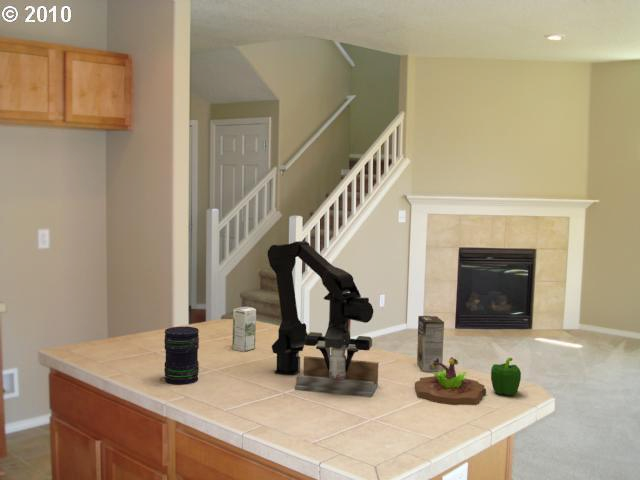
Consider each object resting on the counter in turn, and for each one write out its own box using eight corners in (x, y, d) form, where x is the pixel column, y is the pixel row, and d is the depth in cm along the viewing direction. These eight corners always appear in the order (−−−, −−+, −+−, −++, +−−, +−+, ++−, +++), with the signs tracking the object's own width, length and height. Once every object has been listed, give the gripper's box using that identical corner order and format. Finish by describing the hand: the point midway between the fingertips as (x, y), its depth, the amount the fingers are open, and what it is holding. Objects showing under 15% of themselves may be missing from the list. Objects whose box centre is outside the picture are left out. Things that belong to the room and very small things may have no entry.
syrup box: (243, 346, 242) (243, 306, 241) (255, 349, 239) (256, 308, 237) (232, 349, 237) (232, 308, 236) (244, 352, 234) (245, 310, 233)
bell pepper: (504, 399, 189) (506, 364, 188) (484, 391, 197) (486, 356, 196) (527, 395, 193) (529, 360, 192) (506, 387, 200) (508, 354, 200)
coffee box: (416, 364, 224) (417, 315, 222) (435, 364, 224) (437, 315, 223) (422, 372, 215) (424, 321, 213) (442, 372, 215) (444, 321, 214)
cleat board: (294, 389, 194) (295, 365, 193) (304, 379, 204) (305, 356, 204) (371, 397, 189) (372, 372, 188) (377, 385, 199) (378, 362, 199)
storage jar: (205, 378, 203) (205, 328, 201) (185, 387, 194) (185, 335, 193) (177, 373, 207) (178, 325, 206) (157, 382, 198) (157, 331, 197)
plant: (410, 402, 187) (411, 361, 186) (417, 381, 206) (418, 345, 205) (486, 409, 182) (487, 367, 181) (485, 387, 201) (487, 350, 200)
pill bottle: (347, 376, 199) (348, 347, 198) (342, 380, 194) (343, 351, 193) (332, 374, 200) (332, 345, 200) (326, 378, 196) (327, 349, 195)
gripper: (300, 320, 190) (298, 375, 191) (366, 325, 186) (365, 381, 187) (310, 312, 201) (308, 364, 202) (373, 317, 197) (371, 370, 198)
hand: (337, 370), depth 197 cm, fingers closed on pill bottle, 5 cm apart
